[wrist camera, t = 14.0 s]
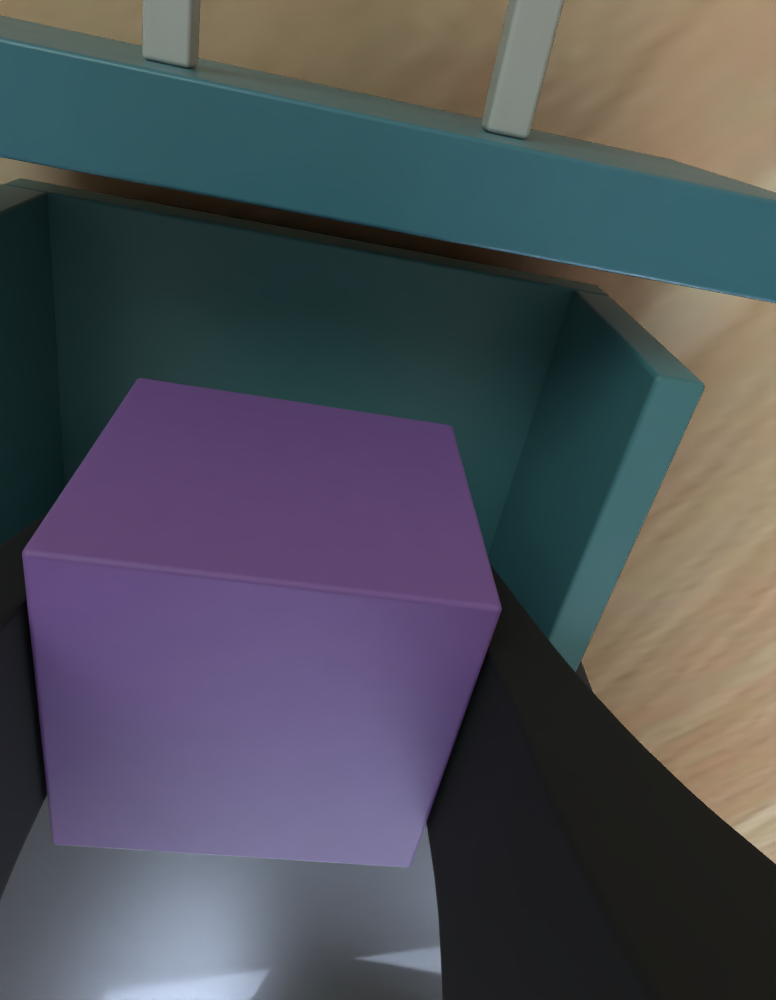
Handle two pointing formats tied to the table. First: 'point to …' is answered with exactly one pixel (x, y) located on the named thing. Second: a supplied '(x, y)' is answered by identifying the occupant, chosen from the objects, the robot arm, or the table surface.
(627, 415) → the drawer
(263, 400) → the block
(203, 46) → the table surface
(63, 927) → the cabinet
